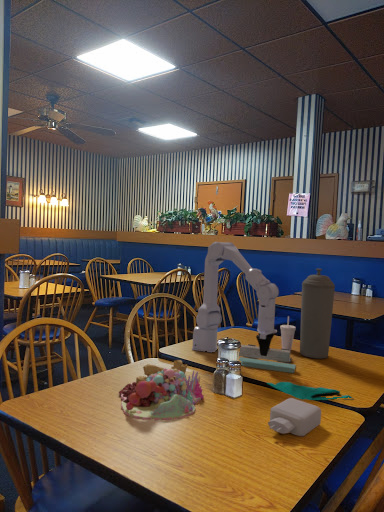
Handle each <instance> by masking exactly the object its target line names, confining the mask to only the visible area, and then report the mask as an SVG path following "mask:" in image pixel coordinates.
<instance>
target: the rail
mask: <svg viewBox="0 0 384 512" xmlns="http://www.w3.org/2000/svg"><path fill="white" fill-rule="evenodd" d="M240 345H241V348H240V352H239V351H238V357H243V356H244V357H243V358H250V357H251V359H258V360H266V361H273V362H279V361H282V362H281V363H286V362H290V358H291V350H290V351H289V350H281V349H282V348H281V349H280V348H271V347H269V348H268V353H267V356H261V354H260V348H259V346H257V345H256V346H248V344H247V345H246V344H240Z"/></svg>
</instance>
